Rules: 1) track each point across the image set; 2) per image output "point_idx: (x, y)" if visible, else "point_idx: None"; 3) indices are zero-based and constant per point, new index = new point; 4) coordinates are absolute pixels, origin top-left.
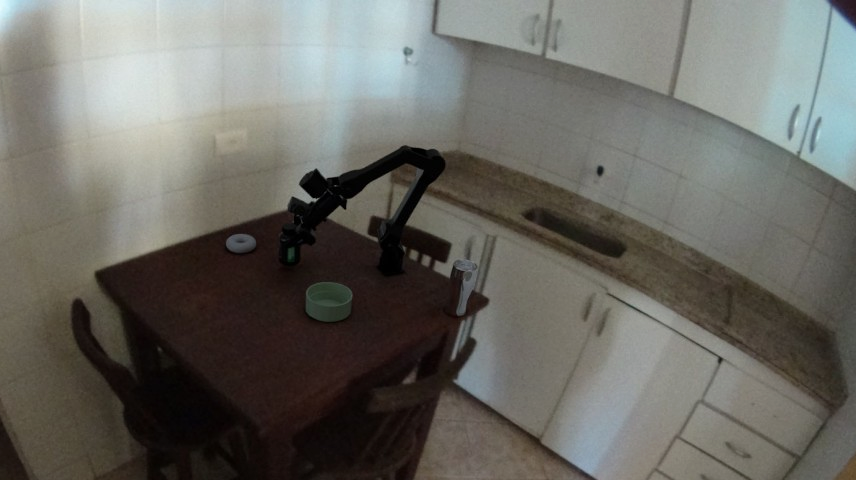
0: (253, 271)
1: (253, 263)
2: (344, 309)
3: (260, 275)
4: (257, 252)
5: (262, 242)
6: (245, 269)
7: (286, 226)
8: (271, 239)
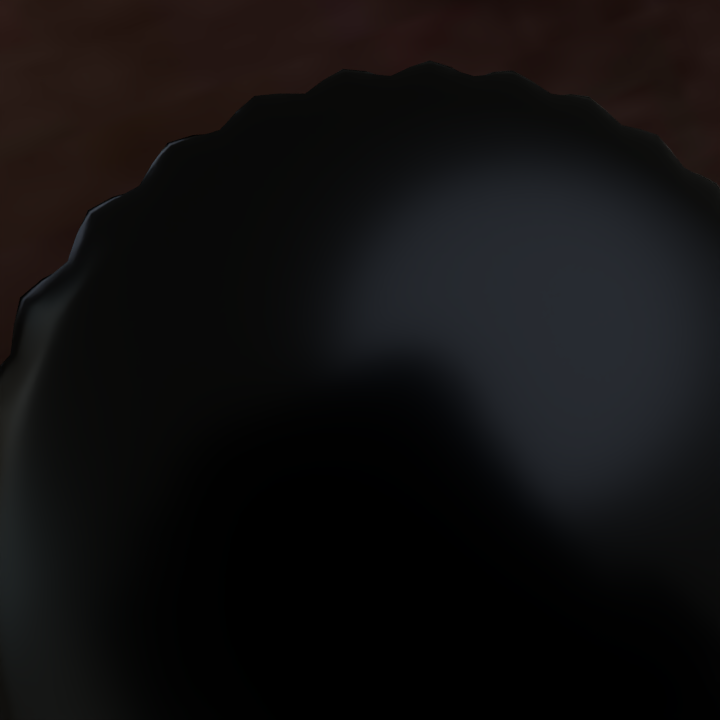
0: (79, 107)
1: (233, 54)
2: None
3: (30, 201)
4: (439, 23)
5: (609, 9)
6: (82, 19)
7: (330, 374)
8: (682, 63)
